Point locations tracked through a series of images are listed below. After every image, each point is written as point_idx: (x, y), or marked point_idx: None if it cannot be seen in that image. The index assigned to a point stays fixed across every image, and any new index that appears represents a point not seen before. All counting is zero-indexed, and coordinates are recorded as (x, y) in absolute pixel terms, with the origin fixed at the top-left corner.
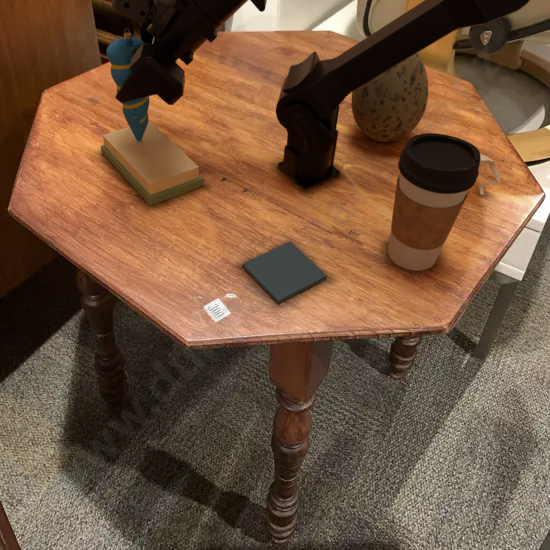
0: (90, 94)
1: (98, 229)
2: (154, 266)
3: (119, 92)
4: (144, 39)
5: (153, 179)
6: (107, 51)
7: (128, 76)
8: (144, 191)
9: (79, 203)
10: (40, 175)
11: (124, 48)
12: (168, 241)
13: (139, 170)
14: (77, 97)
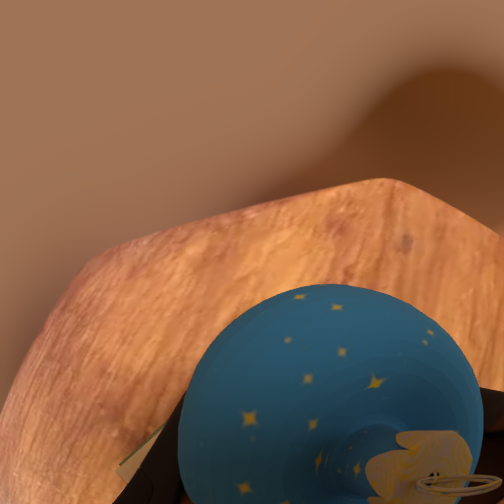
0: (418, 230)
1: (60, 389)
2: (26, 468)
3: (173, 413)
4: (501, 448)
5: (131, 477)
6: (245, 312)
7: (164, 476)
8: (133, 454)
9: (107, 344)
10: (167, 255)
11: (229, 494)
12: (65, 488)
13: (150, 447)
14: (401, 216)
